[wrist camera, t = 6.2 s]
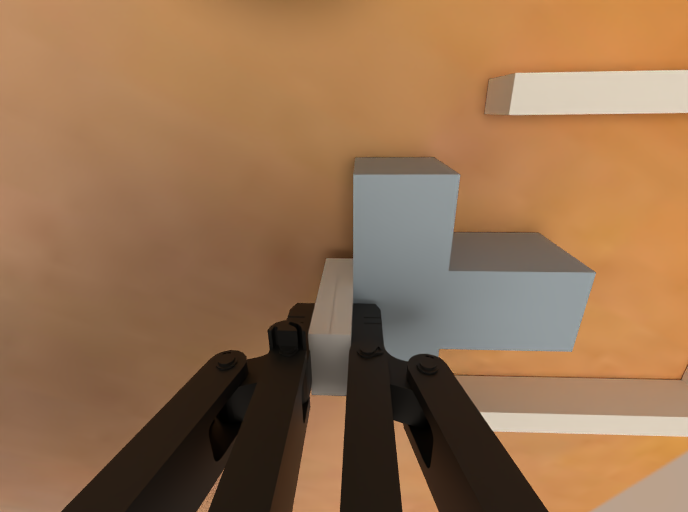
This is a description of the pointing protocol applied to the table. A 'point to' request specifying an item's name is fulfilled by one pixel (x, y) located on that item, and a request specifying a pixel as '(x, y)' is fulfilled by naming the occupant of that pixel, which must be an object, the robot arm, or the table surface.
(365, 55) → the table surface
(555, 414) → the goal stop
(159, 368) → the table surface
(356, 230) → the t block
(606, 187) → the table surface
